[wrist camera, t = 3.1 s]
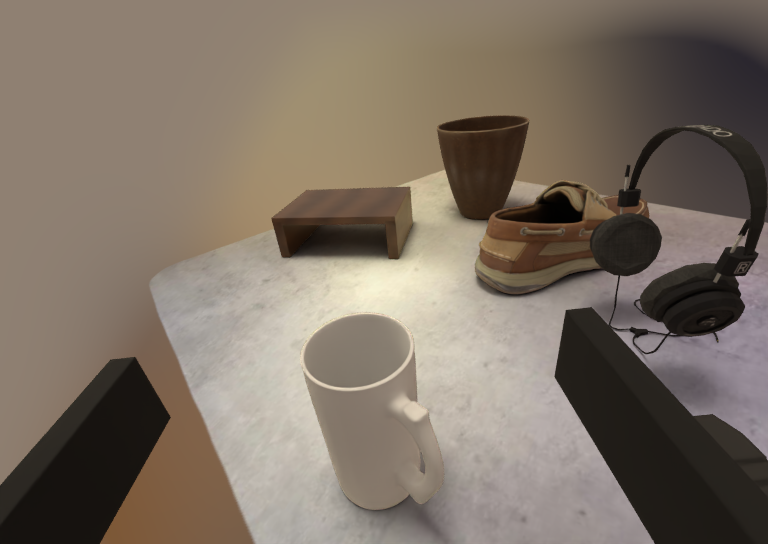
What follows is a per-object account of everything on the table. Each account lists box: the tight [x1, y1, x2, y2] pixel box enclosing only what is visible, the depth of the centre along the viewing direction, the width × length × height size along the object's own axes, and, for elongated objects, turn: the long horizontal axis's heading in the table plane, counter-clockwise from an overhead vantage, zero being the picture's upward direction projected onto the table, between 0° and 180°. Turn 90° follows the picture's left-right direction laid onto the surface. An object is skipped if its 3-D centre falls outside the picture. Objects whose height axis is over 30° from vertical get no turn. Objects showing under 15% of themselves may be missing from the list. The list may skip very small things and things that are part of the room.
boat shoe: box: [475, 180, 649, 294], centre depth 49 cm, size 11×29×10 cm, turn 120°
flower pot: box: [437, 116, 529, 219], centre depth 65 cm, size 15×15×16 cm
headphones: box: [590, 125, 768, 354], centre depth 31 cm, size 15×11×20 cm
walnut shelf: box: [272, 187, 413, 259], centre depth 63 cm, size 20×14×7 cm
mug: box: [300, 312, 444, 510], centre depth 23 cm, size 10×7×12 cm, turn 38°
